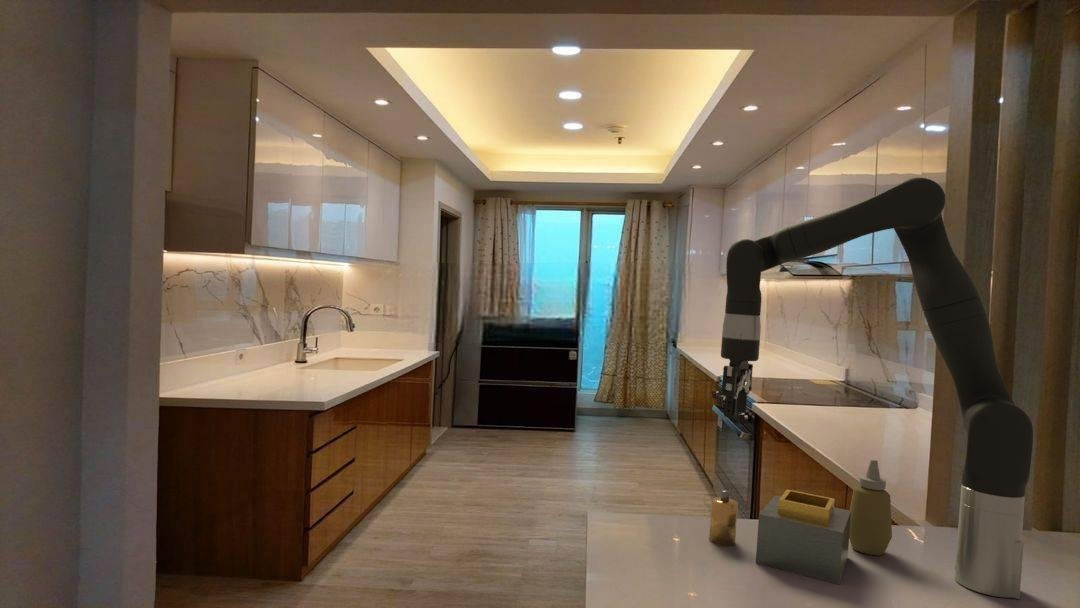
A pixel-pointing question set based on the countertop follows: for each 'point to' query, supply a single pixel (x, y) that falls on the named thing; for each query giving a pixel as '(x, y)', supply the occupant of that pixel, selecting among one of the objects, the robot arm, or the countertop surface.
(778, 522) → the grey boxy block
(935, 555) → the countertop surface
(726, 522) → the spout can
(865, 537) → the squeeze bottle
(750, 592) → the countertop surface
